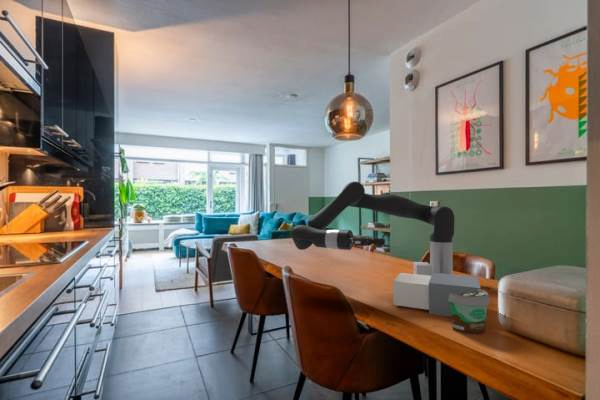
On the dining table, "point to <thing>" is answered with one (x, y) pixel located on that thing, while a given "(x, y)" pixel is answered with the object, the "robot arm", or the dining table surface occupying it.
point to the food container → (469, 312)
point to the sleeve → (448, 290)
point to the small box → (422, 268)
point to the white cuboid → (411, 290)
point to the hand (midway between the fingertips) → (384, 241)
